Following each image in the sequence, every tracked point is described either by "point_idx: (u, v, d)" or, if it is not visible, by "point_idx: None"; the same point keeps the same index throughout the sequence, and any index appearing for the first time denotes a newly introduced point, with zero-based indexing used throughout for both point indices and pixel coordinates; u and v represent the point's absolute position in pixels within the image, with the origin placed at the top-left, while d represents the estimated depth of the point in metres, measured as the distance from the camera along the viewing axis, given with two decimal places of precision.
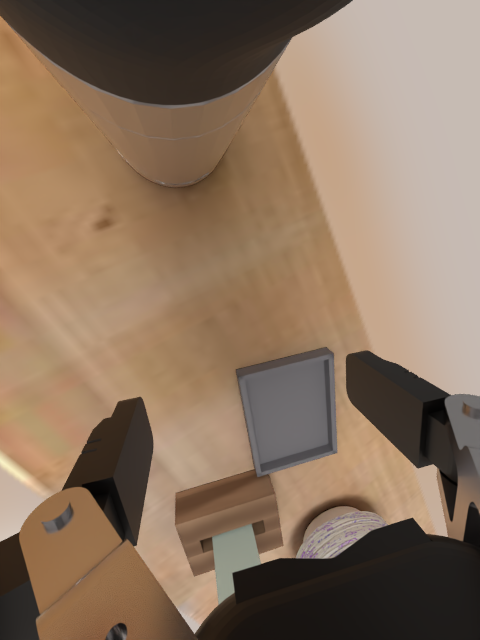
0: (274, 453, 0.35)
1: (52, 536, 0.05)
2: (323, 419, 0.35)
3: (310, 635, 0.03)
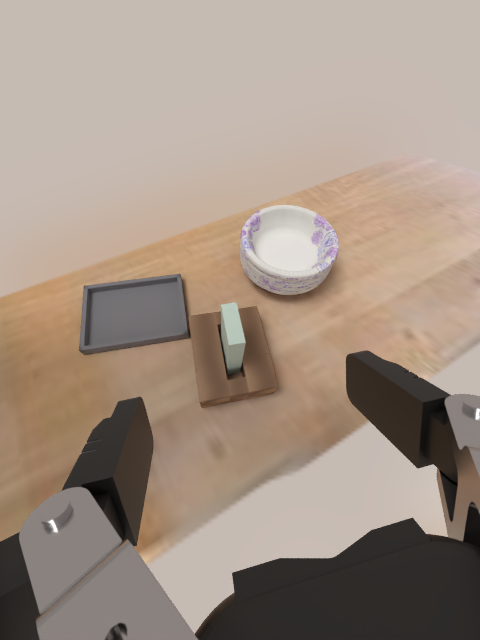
0: (175, 321, 0.42)
1: (52, 536, 0.05)
2: (151, 287, 0.44)
3: (310, 635, 0.03)
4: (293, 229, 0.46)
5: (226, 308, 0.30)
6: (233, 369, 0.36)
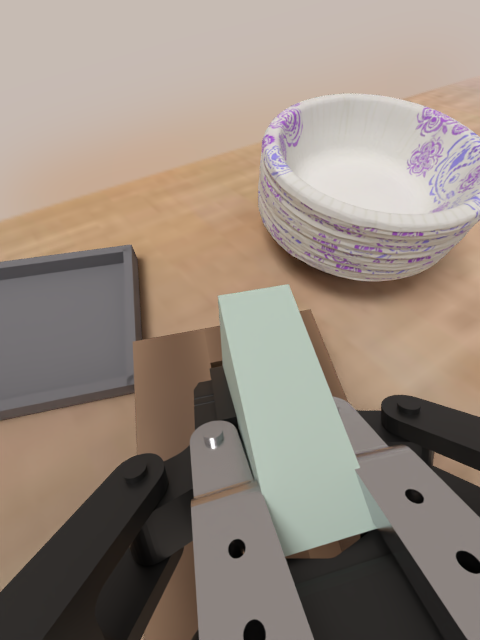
0: (114, 351, 0.18)
1: (220, 448, 0.06)
2: (70, 276, 0.21)
3: None
4: (365, 149, 0.23)
5: (245, 312, 0.06)
6: None
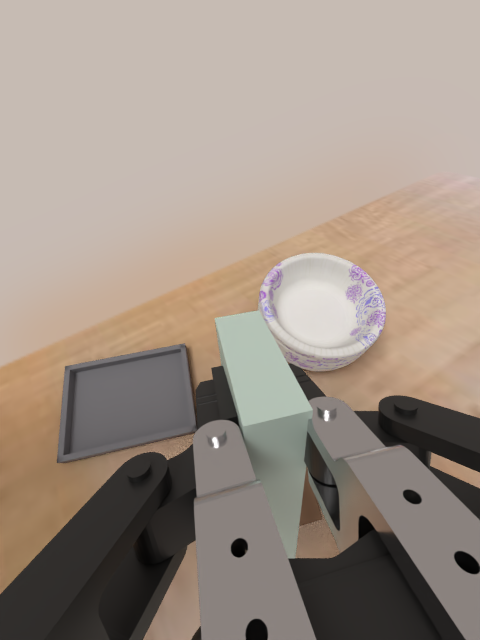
0: (180, 410, 0.33)
1: (224, 447, 0.06)
2: (150, 362, 0.36)
3: None
4: (322, 280, 0.38)
5: (231, 323, 0.10)
6: None
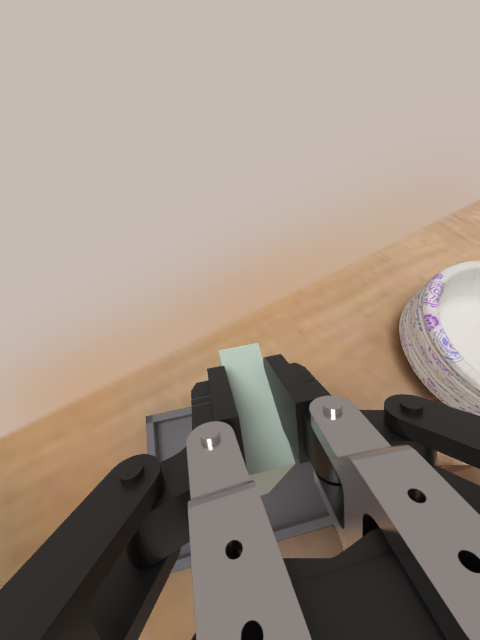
0: (313, 482, 0.23)
1: (217, 449, 0.06)
2: None
3: (310, 635, 0.03)
4: None
5: (233, 359, 0.12)
6: None
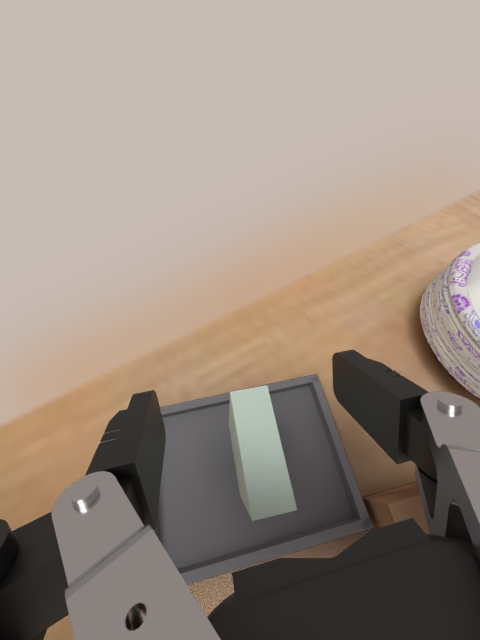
0: (328, 485, 0.21)
1: (83, 514, 0.05)
2: None
3: (310, 635, 0.03)
4: None
5: (243, 402, 0.12)
6: None
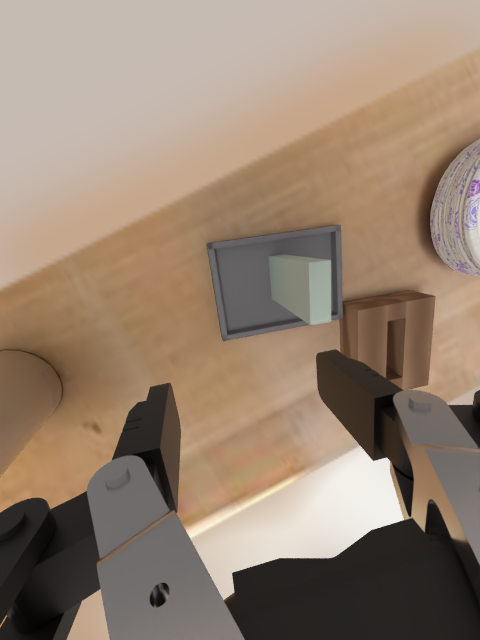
0: None
1: (117, 493, 0.06)
2: (295, 241, 0.31)
3: (310, 635, 0.03)
4: None
5: (315, 269, 0.21)
6: None
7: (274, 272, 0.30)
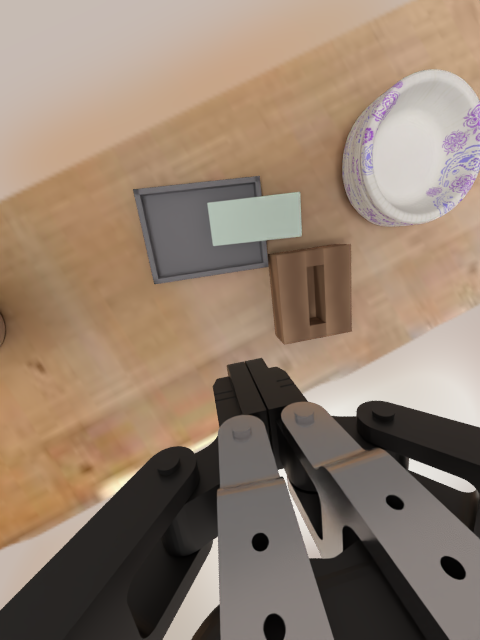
0: (251, 246, 0.36)
1: (250, 441, 0.06)
2: (220, 192, 0.34)
3: None
4: (429, 114, 0.32)
5: None
6: None
7: (224, 215, 0.33)
